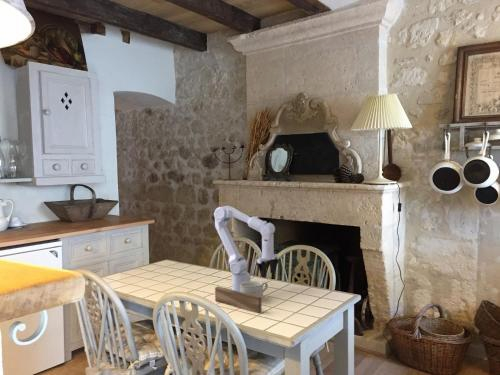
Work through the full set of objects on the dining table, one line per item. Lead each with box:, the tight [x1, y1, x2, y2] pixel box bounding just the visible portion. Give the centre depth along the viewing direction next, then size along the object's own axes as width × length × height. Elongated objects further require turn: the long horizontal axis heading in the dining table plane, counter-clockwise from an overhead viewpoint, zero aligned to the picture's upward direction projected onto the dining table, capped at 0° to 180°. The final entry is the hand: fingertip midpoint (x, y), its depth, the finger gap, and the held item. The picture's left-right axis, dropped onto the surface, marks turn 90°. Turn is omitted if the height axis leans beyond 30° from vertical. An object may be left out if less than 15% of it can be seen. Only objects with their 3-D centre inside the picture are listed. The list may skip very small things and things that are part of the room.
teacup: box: [240, 280, 269, 298], centre depth 188 cm, size 14×11×8 cm
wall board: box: [214, 286, 262, 314], centre depth 178 cm, size 2×26×7 cm, turn 51°
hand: (268, 275), depth 195 cm, fingers open, 7 cm apart
